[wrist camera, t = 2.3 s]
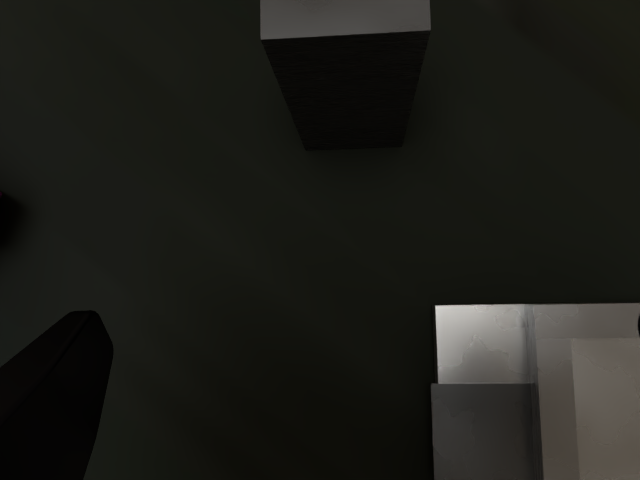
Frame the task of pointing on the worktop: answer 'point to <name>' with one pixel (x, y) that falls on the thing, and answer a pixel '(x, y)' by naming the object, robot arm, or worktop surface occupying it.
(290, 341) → the worktop surface
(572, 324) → the grey tray
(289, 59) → the grey rectangular block
